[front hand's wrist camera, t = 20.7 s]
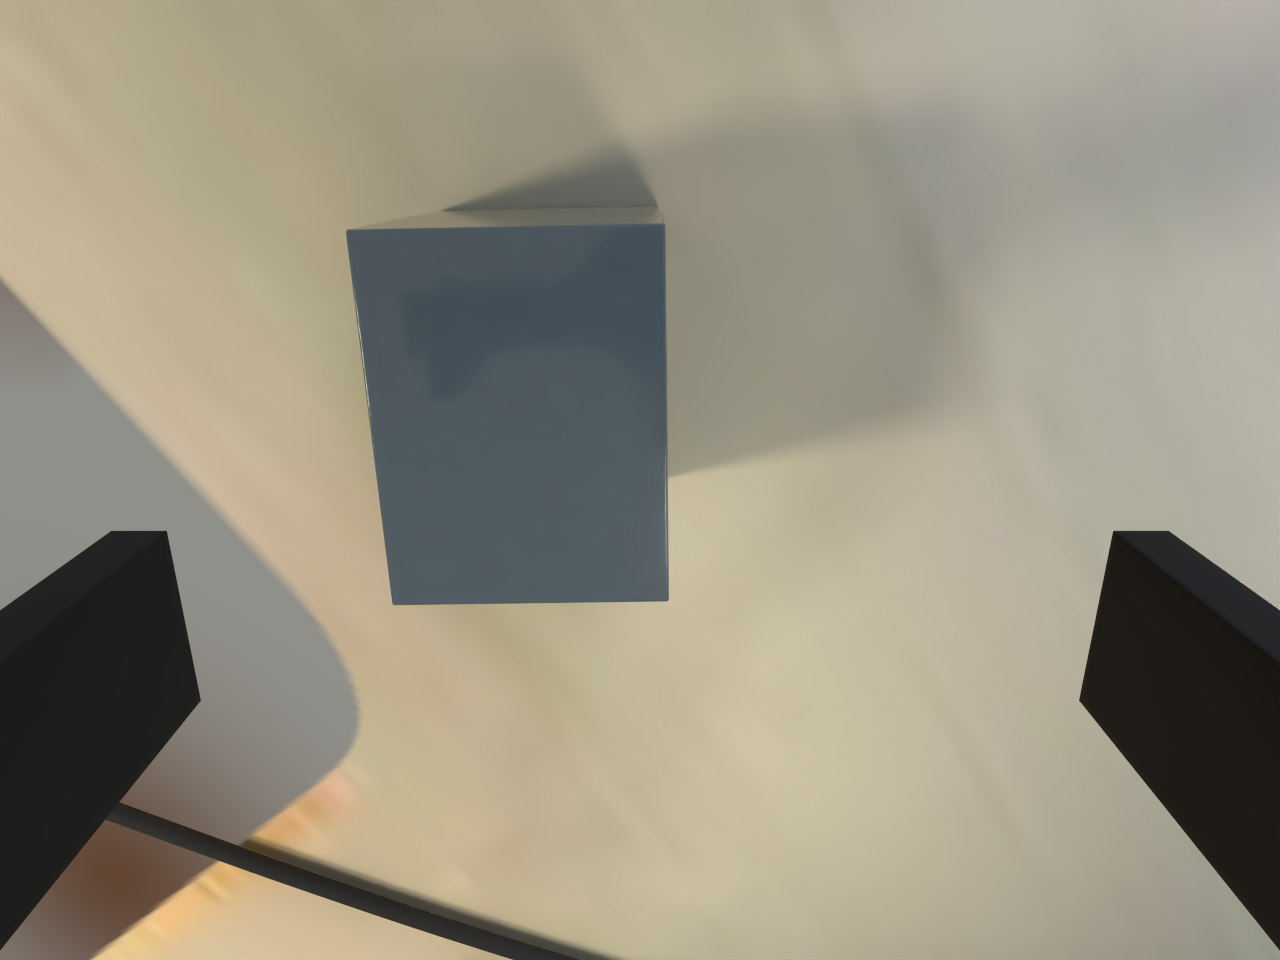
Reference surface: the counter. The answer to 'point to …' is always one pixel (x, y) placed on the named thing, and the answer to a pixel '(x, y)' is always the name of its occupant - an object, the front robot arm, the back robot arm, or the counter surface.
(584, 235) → the block
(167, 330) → the counter surface
